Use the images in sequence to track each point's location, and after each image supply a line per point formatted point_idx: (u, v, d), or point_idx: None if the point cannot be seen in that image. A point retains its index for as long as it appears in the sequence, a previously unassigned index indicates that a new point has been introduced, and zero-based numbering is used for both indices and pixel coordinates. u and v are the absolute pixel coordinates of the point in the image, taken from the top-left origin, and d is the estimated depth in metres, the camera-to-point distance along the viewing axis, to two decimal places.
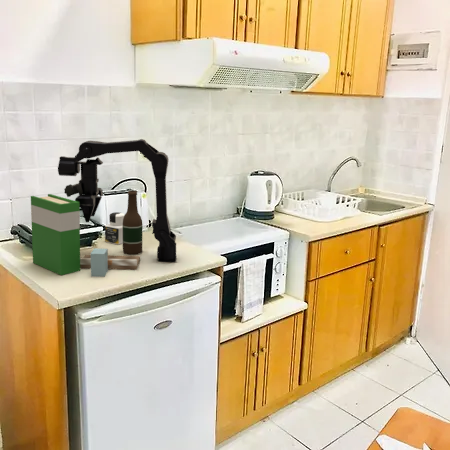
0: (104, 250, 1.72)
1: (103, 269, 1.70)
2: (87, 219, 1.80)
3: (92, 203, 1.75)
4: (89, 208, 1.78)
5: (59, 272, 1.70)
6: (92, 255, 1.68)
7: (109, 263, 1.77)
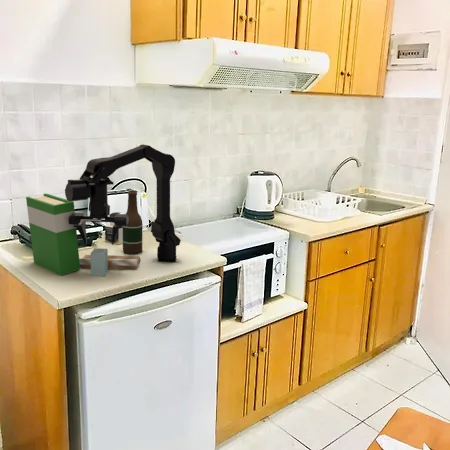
0: (104, 250, 1.72)
1: (103, 269, 1.70)
2: None
3: (69, 222, 1.65)
4: None
5: (59, 272, 1.70)
6: (92, 255, 1.68)
7: (109, 263, 1.77)
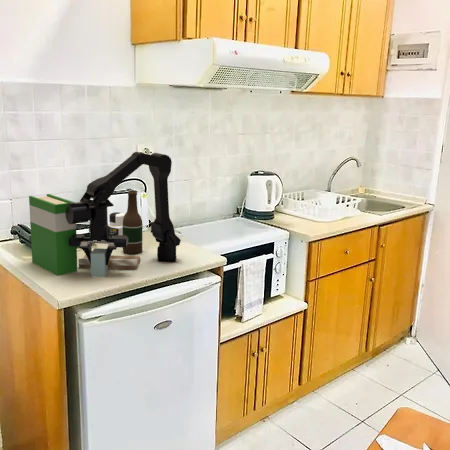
0: (104, 250, 1.72)
1: (103, 269, 1.70)
2: None
3: (69, 244, 1.67)
4: None
5: (55, 272, 1.70)
6: (92, 255, 1.68)
7: (109, 263, 1.77)
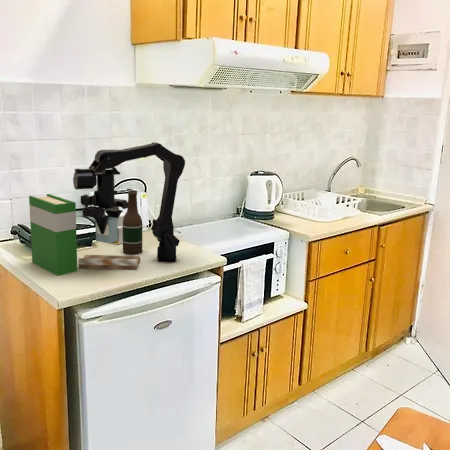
0: None
1: (117, 233, 1.77)
2: (101, 231, 1.73)
3: (97, 216, 1.65)
4: (102, 219, 1.71)
5: (55, 272, 1.70)
6: (111, 222, 1.73)
7: (109, 263, 1.77)
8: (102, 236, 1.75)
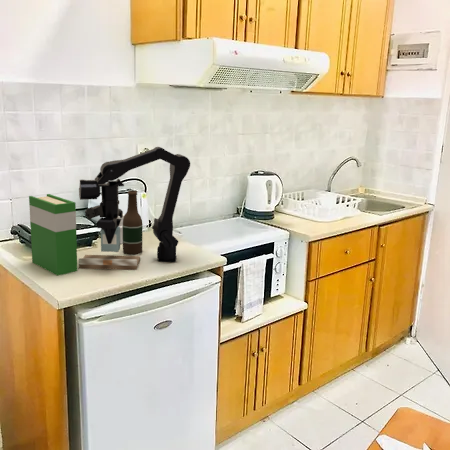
0: None
1: (119, 241, 1.83)
2: (109, 241, 1.78)
3: (114, 227, 1.71)
4: (111, 230, 1.76)
5: (55, 272, 1.70)
6: (118, 231, 1.79)
7: (109, 263, 1.77)
8: (108, 246, 1.79)
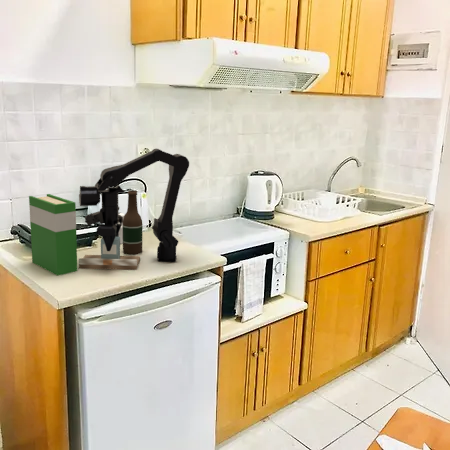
0: None
1: (119, 251, 1.84)
2: (108, 248, 1.77)
3: (114, 233, 1.71)
4: (111, 237, 1.75)
5: (55, 272, 1.70)
6: (118, 241, 1.80)
7: (109, 263, 1.77)
8: (108, 256, 1.80)
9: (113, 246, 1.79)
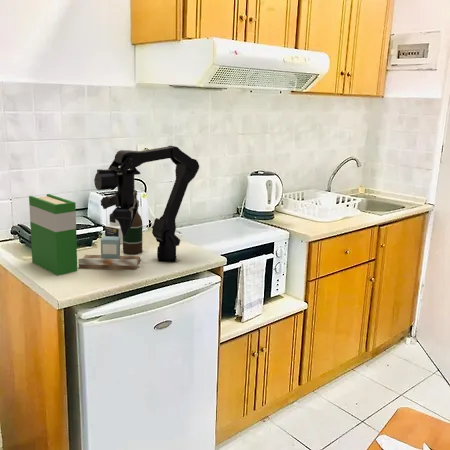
0: (108, 236, 1.83)
1: (119, 251, 1.84)
2: (124, 232, 1.72)
3: (130, 216, 1.67)
4: (126, 221, 1.70)
5: (55, 272, 1.70)
6: (118, 241, 1.80)
7: (109, 263, 1.77)
8: (108, 256, 1.80)
9: (113, 246, 1.79)
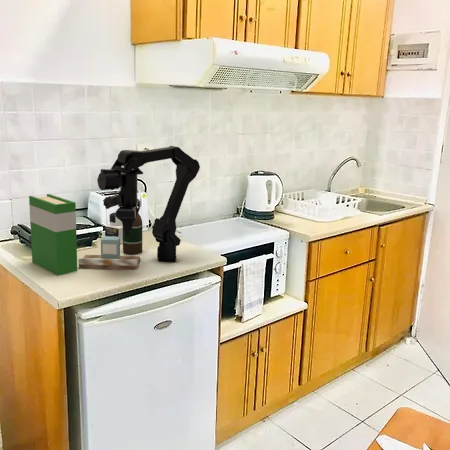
0: (108, 236, 1.83)
1: (119, 251, 1.84)
2: (127, 232, 1.72)
3: (133, 216, 1.67)
4: (129, 221, 1.70)
5: (55, 272, 1.70)
6: (118, 241, 1.80)
7: (109, 263, 1.77)
8: (108, 256, 1.80)
9: (113, 246, 1.79)
